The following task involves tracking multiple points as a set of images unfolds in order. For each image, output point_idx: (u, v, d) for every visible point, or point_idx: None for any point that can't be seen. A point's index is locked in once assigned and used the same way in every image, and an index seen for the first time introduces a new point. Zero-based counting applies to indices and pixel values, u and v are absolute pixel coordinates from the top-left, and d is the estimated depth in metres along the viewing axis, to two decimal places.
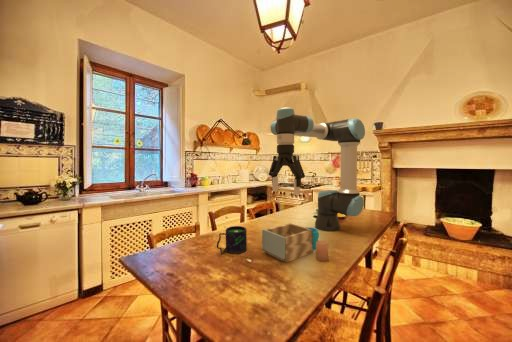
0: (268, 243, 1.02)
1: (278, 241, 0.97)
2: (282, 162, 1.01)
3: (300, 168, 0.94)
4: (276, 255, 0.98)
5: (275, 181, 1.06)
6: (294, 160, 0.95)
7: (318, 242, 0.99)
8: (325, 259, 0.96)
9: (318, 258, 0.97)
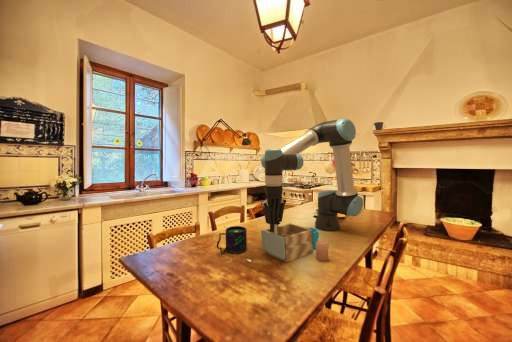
0: (267, 243, 1.02)
1: (277, 241, 0.96)
2: None
3: (266, 216, 0.97)
4: (276, 255, 0.98)
5: None
6: None
7: (318, 242, 0.99)
8: (325, 259, 0.96)
9: (318, 258, 0.97)
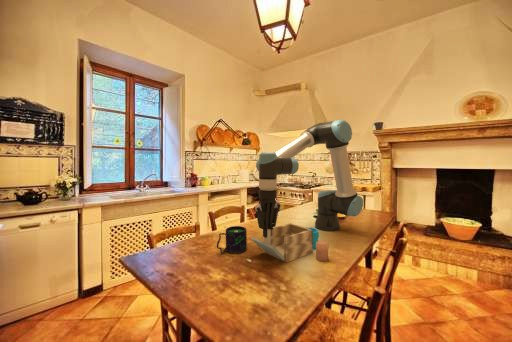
0: (263, 248, 1.00)
1: (270, 249, 0.94)
2: None
3: (259, 220, 0.95)
4: (276, 256, 0.98)
5: None
6: None
7: (318, 242, 0.99)
8: (325, 259, 0.96)
9: (318, 258, 0.97)
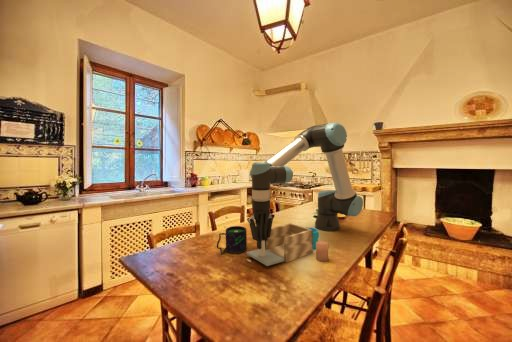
0: None
1: None
2: None
3: (253, 232, 0.93)
4: None
5: None
6: None
7: (318, 242, 0.99)
8: (325, 259, 0.96)
9: (318, 258, 0.97)
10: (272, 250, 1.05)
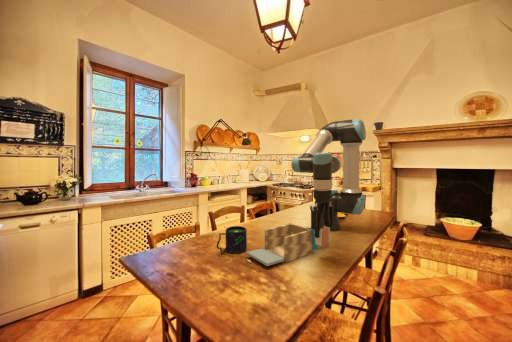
0: None
1: None
2: None
3: (313, 220, 0.94)
4: None
5: None
6: None
7: None
8: (326, 246, 0.96)
9: None
10: (272, 250, 1.05)
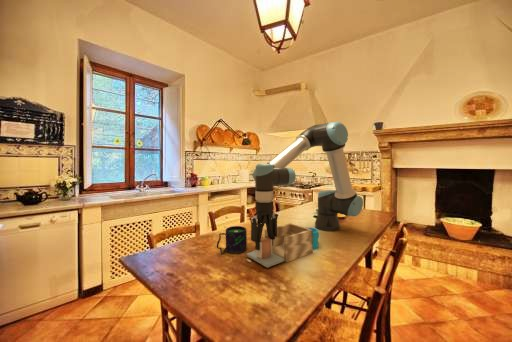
0: None
1: None
2: None
3: (253, 232, 0.93)
4: None
5: None
6: None
7: (261, 239, 0.98)
8: (266, 256, 0.95)
9: None
10: (272, 250, 1.05)
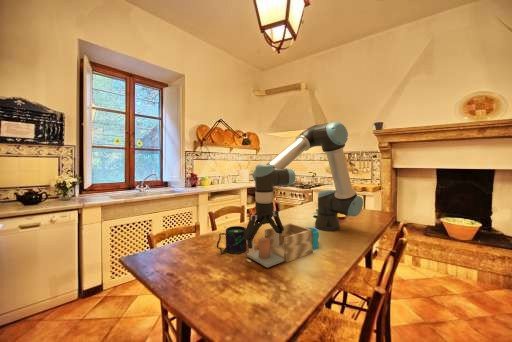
0: None
1: None
2: None
3: (247, 229, 0.91)
4: None
5: (275, 237, 1.01)
6: None
7: (260, 239, 0.97)
8: (266, 256, 0.95)
9: (260, 255, 0.95)
10: (272, 250, 1.05)
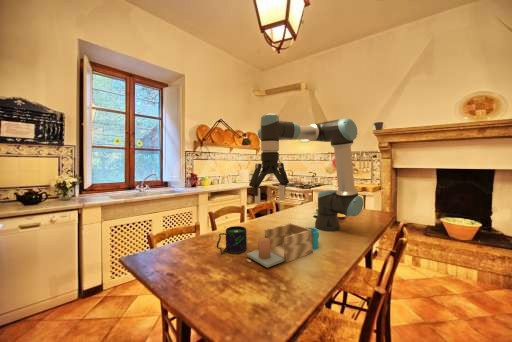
0: None
1: None
2: None
3: (253, 177, 0.92)
4: None
5: (280, 190, 1.02)
6: None
7: (260, 239, 0.97)
8: (266, 256, 0.95)
9: (260, 255, 0.95)
10: (272, 250, 1.05)
